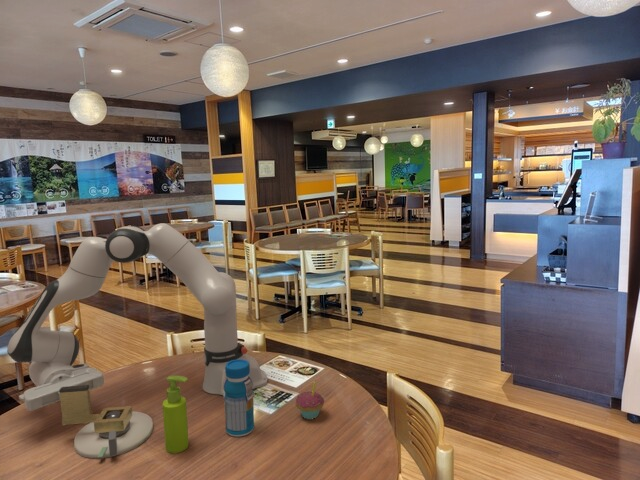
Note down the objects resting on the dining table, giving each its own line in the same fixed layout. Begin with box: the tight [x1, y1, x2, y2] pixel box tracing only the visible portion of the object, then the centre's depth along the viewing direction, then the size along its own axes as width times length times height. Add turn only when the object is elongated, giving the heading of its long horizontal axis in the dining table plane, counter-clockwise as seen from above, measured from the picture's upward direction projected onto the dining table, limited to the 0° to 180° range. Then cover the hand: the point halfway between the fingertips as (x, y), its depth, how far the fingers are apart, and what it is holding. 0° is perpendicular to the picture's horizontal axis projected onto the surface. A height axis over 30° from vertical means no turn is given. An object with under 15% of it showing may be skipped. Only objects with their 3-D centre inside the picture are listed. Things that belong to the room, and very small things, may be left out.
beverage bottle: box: [223, 359, 255, 438], centre depth 122 cm, size 8×8×20 cm
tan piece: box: [59, 385, 133, 433], centre depth 119 cm, size 17×8×12 cm, turn 98°
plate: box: [73, 410, 154, 459], centre depth 119 cm, size 20×22×6 cm
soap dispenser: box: [162, 375, 189, 454], centre depth 114 cm, size 6×7×20 cm
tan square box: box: [99, 411, 130, 439], centre depth 120 cm, size 8×8×5 cm
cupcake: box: [295, 379, 325, 420], centre depth 129 cm, size 9×8×12 cm
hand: (74, 397), depth 120 cm, fingers closed
